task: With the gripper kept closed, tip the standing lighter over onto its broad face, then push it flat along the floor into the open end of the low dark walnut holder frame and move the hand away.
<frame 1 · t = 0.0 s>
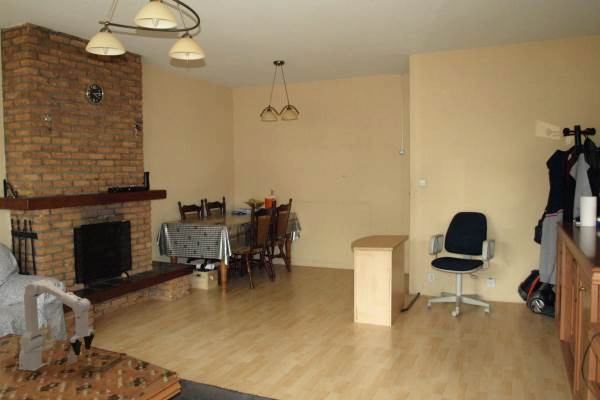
hand: (82, 352, 228), 10 cm above the table, tool pointing down, fingers open, 7 cm apart
ceramic cottage: (38, 347, 262), on the table
holder: (101, 364, 238), on the table
lighter: (75, 362, 241), on the table
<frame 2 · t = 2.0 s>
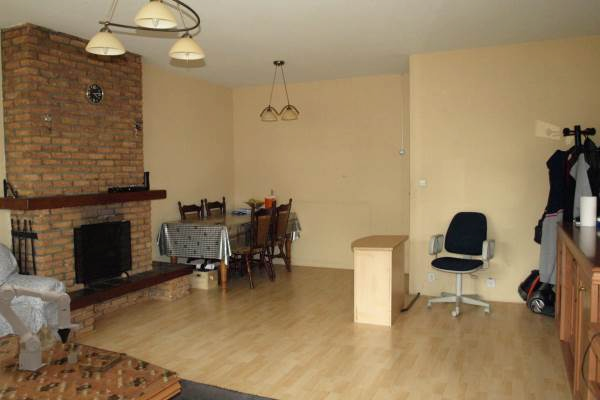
hand: (64, 342, 242), 10 cm above the table, tool pointing down, fingers closed
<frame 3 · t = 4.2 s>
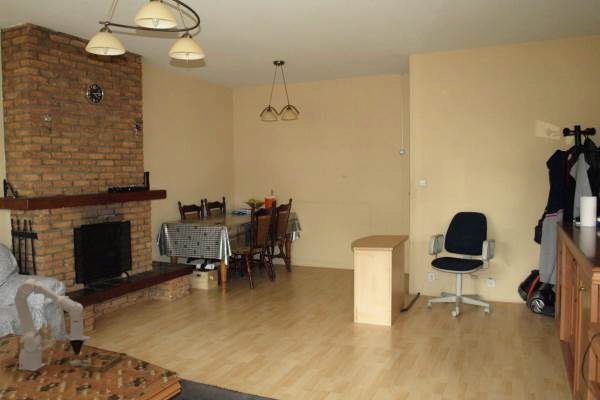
hand: (77, 354, 241), 4 cm above the table, tool pointing down, fingers closed
lighter: (75, 360, 241), point 1 cm above the table
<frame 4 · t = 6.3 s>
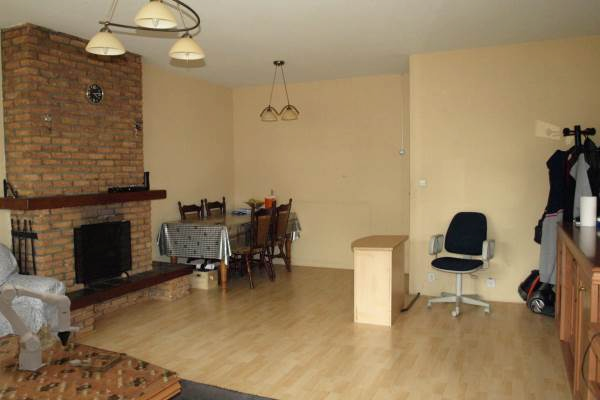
hand: (64, 345, 242), 8 cm above the table, tool pointing down, fingers closed
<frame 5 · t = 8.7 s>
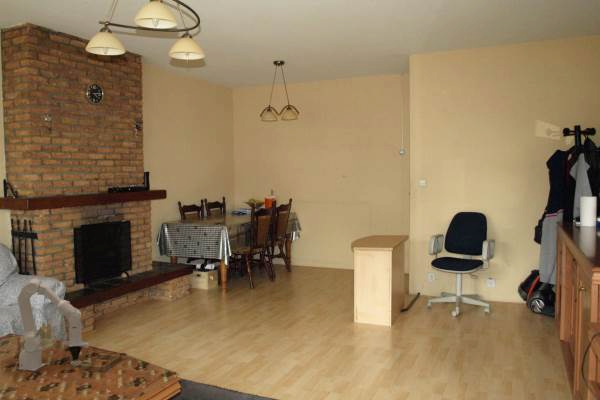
hand: (75, 360, 241), 1 cm above the table, tool pointing down, fingers closed
lighter: (76, 361, 240), point 1 cm above the table, touching gripper
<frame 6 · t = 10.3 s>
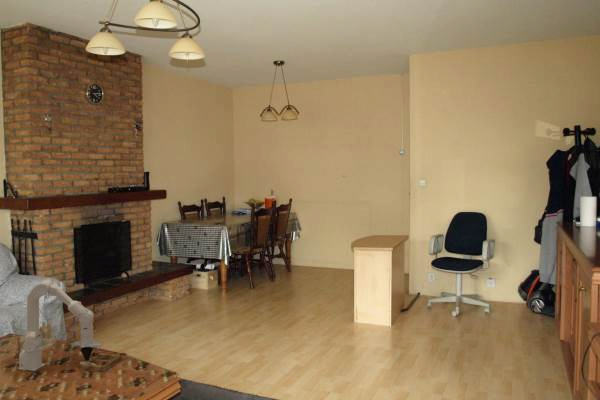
hand: (87, 361, 240), 1 cm above the table, tool pointing down, fingers closed, pressing on lighter
lighter: (87, 362, 239), point 1 cm above the table, touching gripper, holder
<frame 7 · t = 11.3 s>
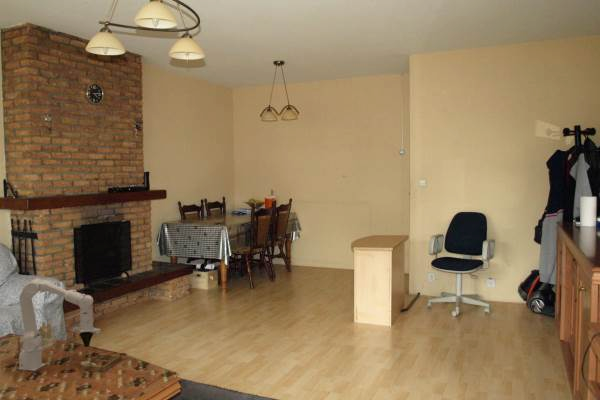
hand: (86, 346, 239), 9 cm above the table, tool pointing down, fingers closed
lighter: (88, 361, 239), point 1 cm above the table
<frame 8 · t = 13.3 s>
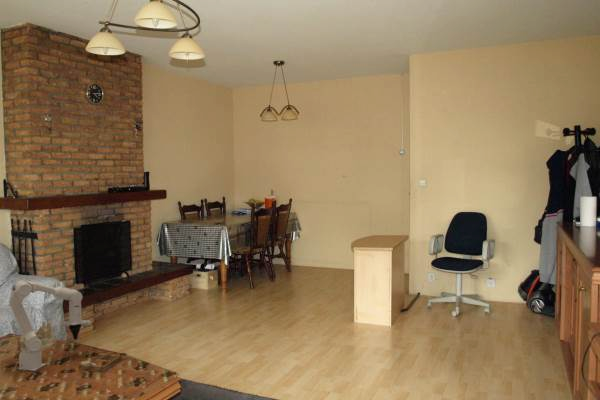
hand: (75, 338, 247), 10 cm above the table, tool pointing down, fingers closed
at the end: lighter inside the target area (6.3 cm from its centre), point 0.9 cm above the table; lighter tilted 90° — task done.
